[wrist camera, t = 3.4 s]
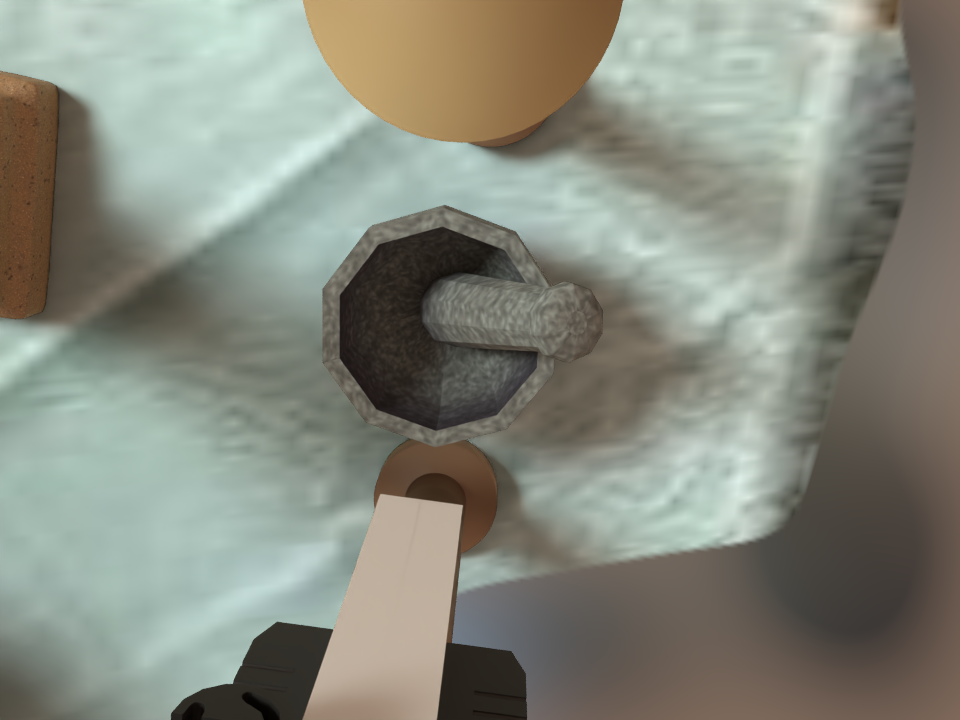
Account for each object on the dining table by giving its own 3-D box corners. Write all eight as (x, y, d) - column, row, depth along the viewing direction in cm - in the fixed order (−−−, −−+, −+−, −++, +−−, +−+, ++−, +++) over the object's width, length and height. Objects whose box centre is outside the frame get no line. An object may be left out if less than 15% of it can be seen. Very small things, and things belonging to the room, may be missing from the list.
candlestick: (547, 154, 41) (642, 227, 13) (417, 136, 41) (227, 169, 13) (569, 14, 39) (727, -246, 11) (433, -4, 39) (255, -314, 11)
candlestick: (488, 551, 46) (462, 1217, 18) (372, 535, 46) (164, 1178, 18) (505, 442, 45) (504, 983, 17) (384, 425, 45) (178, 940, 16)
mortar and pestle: (379, 415, 44) (335, 519, 33) (320, 231, 42) (250, 273, 31) (601, 357, 43) (638, 443, 32) (553, 165, 41) (573, 183, 30)
